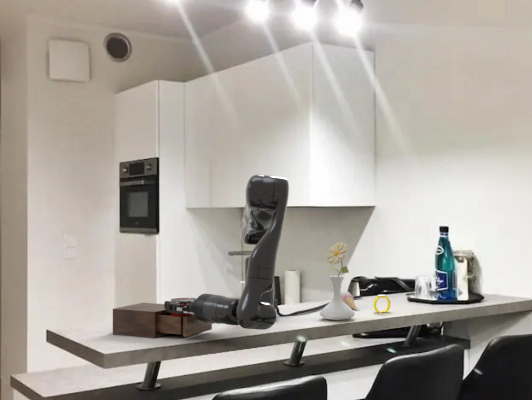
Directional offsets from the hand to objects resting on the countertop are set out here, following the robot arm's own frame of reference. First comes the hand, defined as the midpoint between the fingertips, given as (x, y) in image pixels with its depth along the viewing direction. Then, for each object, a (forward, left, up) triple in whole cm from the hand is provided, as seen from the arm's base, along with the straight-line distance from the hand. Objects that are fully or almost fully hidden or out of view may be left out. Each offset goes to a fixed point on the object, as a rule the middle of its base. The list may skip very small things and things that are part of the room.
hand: (177, 303), depth 201 cm
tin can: (+1, +2, -7) cm, 7 cm away
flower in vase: (-41, +32, -9) cm, 53 cm away
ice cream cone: (-68, +26, -9) cm, 74 cm away
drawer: (+1, +3, -8) cm, 8 cm away
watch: (-61, +40, -9) cm, 74 cm away
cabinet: (+1, -10, -9) cm, 13 cm away
